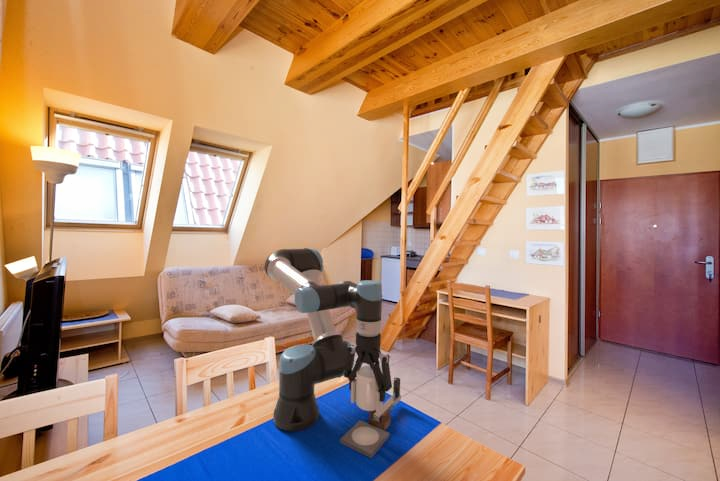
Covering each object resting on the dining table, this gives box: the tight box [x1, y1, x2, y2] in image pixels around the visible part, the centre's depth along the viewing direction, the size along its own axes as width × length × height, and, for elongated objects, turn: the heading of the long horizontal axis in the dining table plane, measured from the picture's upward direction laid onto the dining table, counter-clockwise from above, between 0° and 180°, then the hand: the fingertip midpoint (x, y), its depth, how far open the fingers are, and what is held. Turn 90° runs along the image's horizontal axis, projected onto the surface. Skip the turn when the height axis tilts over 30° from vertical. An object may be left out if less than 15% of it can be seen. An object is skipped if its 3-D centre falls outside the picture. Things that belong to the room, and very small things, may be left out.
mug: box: [355, 365, 383, 412], centre depth 95 cm, size 12×8×10 cm
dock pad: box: [339, 419, 390, 459], centre depth 96 cm, size 11×11×1 cm
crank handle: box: [373, 377, 402, 422], centre depth 108 cm, size 2×16×8 cm, turn 147°
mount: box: [368, 409, 391, 431], centre depth 104 cm, size 6×4×5 cm, turn 57°
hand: (366, 405), depth 96 cm, fingers closed on mug, 8 cm apart
